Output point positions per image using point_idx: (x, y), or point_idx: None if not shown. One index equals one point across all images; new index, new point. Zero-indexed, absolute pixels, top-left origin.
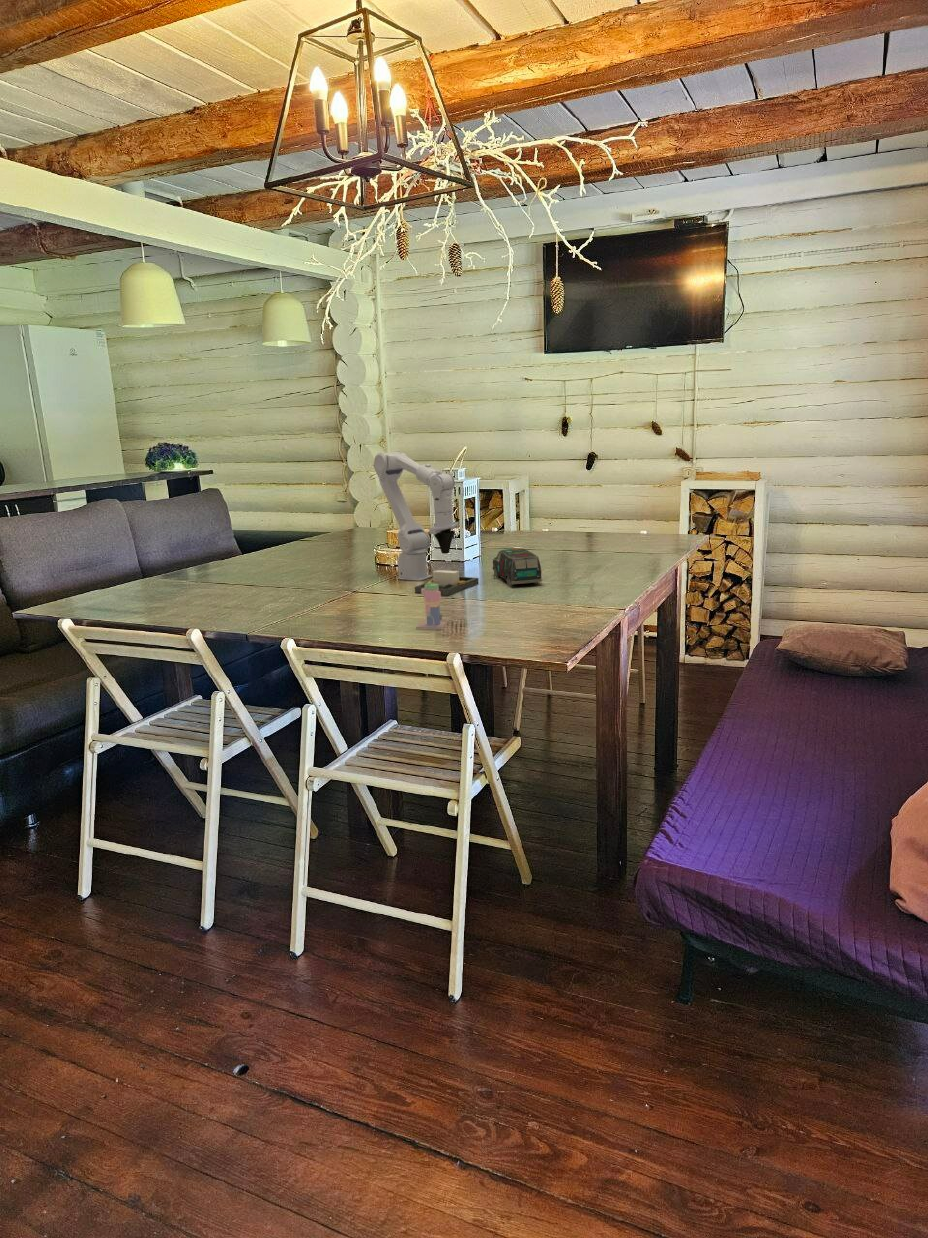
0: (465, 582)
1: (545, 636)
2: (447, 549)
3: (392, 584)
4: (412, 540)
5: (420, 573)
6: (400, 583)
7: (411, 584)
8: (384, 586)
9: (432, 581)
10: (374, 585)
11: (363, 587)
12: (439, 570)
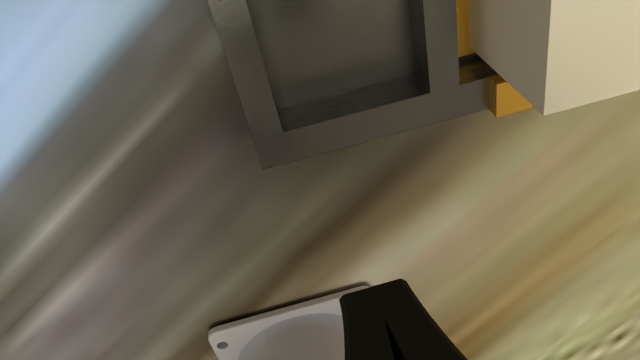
0: None
1: None
2: (427, 321)
3: (512, 317)
4: None
5: (343, 342)
6: (472, 310)
7: (471, 250)
8: (574, 307)
9: None
10: (565, 352)
11: (623, 350)
12: (569, 74)
